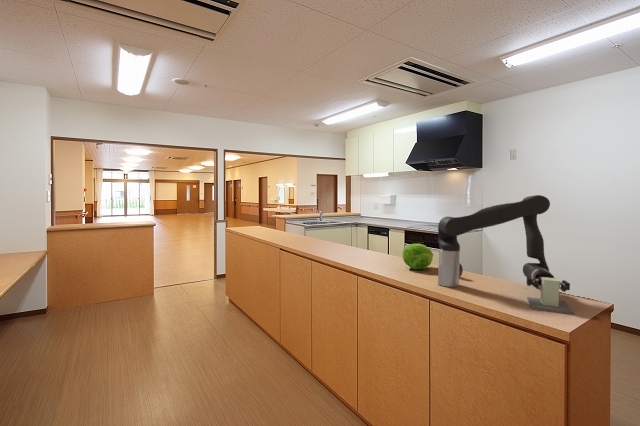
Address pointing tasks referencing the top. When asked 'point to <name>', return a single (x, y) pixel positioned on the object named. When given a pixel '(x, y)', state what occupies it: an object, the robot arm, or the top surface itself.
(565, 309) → the charcoal mat
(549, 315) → the top surface
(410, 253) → the lettuce
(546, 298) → the sage block
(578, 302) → the top surface
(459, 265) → the tin
